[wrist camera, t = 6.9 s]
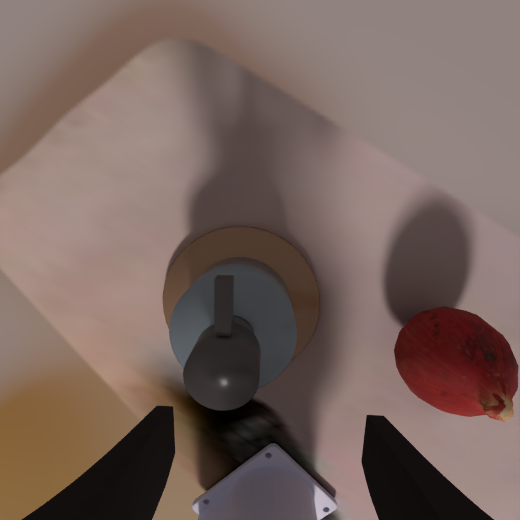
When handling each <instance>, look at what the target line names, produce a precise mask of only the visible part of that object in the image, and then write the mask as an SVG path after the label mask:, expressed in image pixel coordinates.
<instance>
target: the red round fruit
mask: <svg viewBox="0 0 520 520" xmlns="http://www.w3.org/2000/svg"><path fill="white" fill-rule="evenodd" d="M394 353H395V360H396V367H397V369H398V371H399V373H400V375H401V377H402V378H403V380H404V381H405V383H406V384H407V386H408V387H409V389H410V390H411V391H412V392H413V393H414V394H415V395H416V396H417V397H418V398H420V399H422V400H423V401H425V402H427V403H428V404H430V405H432V406H433V407H435V408H437V409H439V410H441V411H444V412H447V413H451V414H456V415H461V416H469V417H472V416H479V415H488V416H489V417H490V418H493V419H496V420H500V421H506V420H507V419H508V418H510V417H513V415H514V412H513V401H512V398H513V396H514V395H515V393H516V391H517V388H518V364H517V362H516V359H515V357H514V354H513V352H512V350H511V347H510V345H509V343H508V342H507V340H506V339H505V338H504V336H503V335H502V334H500V333H499V332H498V331H497V330H495V329H494V328H493V327H492V326H490V325H489V324H488V323H487V322H485V321H484V320H483V319H482V318H480V317H479V316H478V315H476V314H473V313H470V312H467V311H464V310H459V309H455V308H450V307H441V308H435V309H430V310H426V311H422V312H420V313H419V314H417V315H416V316H414V317H413V318H411V319H410V320H408V322H407V323H406V324H405V326H404V327H403V328H402V329H401V331H400V332H399V335H398V338H397V341H396V344H395V349H394Z"/></svg>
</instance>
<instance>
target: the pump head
mask: <svg viewBox="0 0 520 520" xmlns="http://www.w3.org/2000/svg"><path fill="white" fill-rule="evenodd" d="M233 307H234V276H233V275H217V276H216V278H215V279H214V324H213V325H211V326H209V327H208V328H206V329H205V330H204V331H203V332H202V333H201V335H200V336H199V338H198V340H197V342H196V344H195V346H194V348H193V349H192V351H191V353H190V355H189V357H188V359H187V361H186V363H185V366H184V371H183V378H184V383H185V386H186V388H187V390H188V392H189V393H190V395H191V396H192V397H193V398H194V399H195V400H196V401H197V402H198V403H200V404H202V405H203V406H205V407H208V408H210V409H214V410H232V409H236V408H239V407H241V406H243V405H244V404H246V403H247V402H248V401H250V400H251V398H252V397H253V396H254V394H255V393H256V391H257V389H258V385H259V377H260V360H261V349H260V344H259V342H258V340H257V338H256V336H255V335H254V334H253V333H252V331H250V330H249V329H248V328H246V327H245V326H243V325H241V324H238V323H235V322H233Z"/></svg>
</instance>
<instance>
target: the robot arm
mask: <svg viewBox="0 0 520 520" xmlns="http://www.w3.org/2000/svg"><path fill="white" fill-rule="evenodd" d="M267 453H270V454H267ZM174 455H175V439H174V417H173V407H172V406H156V407H155V408H154V409H153V410H152V411H151V412H150V413H149V414H148V415H147V416H146V417H145V418H144V419H143V420H142V421H141V422H140V423H139V424H138V425H136V426H135V427H134V428H133V429H132V430H131V431H130V432H129V433H128V434H127V435H126V436H125V437H124V438H123V439H122V440H121V441H120V442H119V443H117V444H116V445H115V446H114V447H113V448H112V449H111V450H110V451H109V452H108V453H107V454H106V455H104V456H103V457H102V458H101V459H100V460H99V461H98V462H96V463H95V464H94V465H93V466H92V467H91V468H89V469H88V470H87V471H86V472H85V473H84V474H82V475H81V476H80V477H79V478H78V479H76V480H75V481H74V482H73V483H71V484H70V485H69V486H68V487H66V488H65V489H64V490H62V491H61V492H60V493H58V494H57V495H56V496H54V497H53V498H52V499H50V500H49V501H48V502H46V503H45V504H44V505H43V506H41V507H39V508H38V509H37V510H35V511H34V512H32V513H31V514H29V515H28V516H26V517H25V518H24V519H22V520H152V518H153V516H154V513H155V511H156V508H157V506H158V503H159V501H160V498H161V496H162V493H163V491H164V488H165V485H166V482H167V479H168V476H169V472H170V469H171V466H172V462H173V458H174ZM362 466H363V470H364V474H365V478H366V482H367V485H368V489H369V493H370V496H371V499H372V502H373V505H374V507H375V510H376V513H377V516H378V518H379V520H494V519H492V518H491V517H490V516H489V515H487V514H486V513H485V512H484V511H483V510H481V509H480V508H479V507H478V506H477V505H475V504H474V503H473V502H472V501H471V500H470V499H469V498H467V497H466V496H465V495H464V494H463V493H462V492H461V491H460V490H459V489H457V488H456V487H455V486H454V485H453V484H452V483H451V482H450V481H449V480H447V479H446V478H445V477H444V476H443V475H442V474H441V473H440V472H439V471H438V470H437V469H436V468H435V467H434V466H433V465H432V464H431V463H430V462H429V461H428V460H427V459H426V458H425V457H424V456H423V455H422V454H421V453H420V452H419V451H418V450H417V449H416V448H415V447H414V446H413V445H412V444H411V443H410V442H409V441H408V440H407V439H406V438H405V437H404V436H403V435H402V434H401V433H400V432H399V431H398V430H397V429H396V428H395V427H394V426H393V425H392V424H391V423H390V422H389V421H388V420H387V419H386V418H385V417H384V416H377V415H367V418H366V427H365V435H364V444H363V453H362ZM336 508H337V503H336V500H335V499H334V498H333V497H332V496H331V495H330V494H329V493H328V492H327V491H326V490H325V489H324V488H323V487H322V486H321V485H319V484H318V483H317V482H316V481H315V480H314V479H313V478H312V477H311V476H310V475H309V474H308V473H307V472H306V471H305V470H304V469H303V468H302V467H300V466H299V465H298V464H297V463H296V462H295V461H294V460H293V459H292V458H291V457H290V456H289V455H288V454H287V453H286V452H285V451H284V450H283V449H281V448H280V447H279V446H278V445H277V444H275V443H271V444H269V445H268V446H266V447H265V448H264V449H262V450H261V451H260V452H258V453H257V454H256V455H254V456H253V457H252V458H250V459H249V460H248V461H246V462H245V463H244V464H242V465H241V466H240V467H238V468H237V469H236V470H234V471H233V472H232V473H230V474H229V475H228V476H226V477H225V478H224V479H222V480H221V481H220V482H218V483H217V484H216V485H214V486H213V487H212V488H210V489H209V490H208V491H206V492H205V493H204V494H202V495H201V496H200V497H198V498H197V499H196V500H194V502H193V505H192V509H193V510H194V511H195V512H196V513H197V514H199V518H198V520H320V519H322V518H323V517H325V516H326V515H328V514H329V513H331V512H332V511H334V510H335V509H336Z"/></svg>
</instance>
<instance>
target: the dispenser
mask: <svg viewBox="0 0 520 520" xmlns="http://www.w3.org/2000/svg"><path fill="white" fill-rule="evenodd" d="M217 275H233V276H234V307H233V322H235V323H238V324H241V325H243V326H245V327H246V328H248V329H249V330H250V331H252V333H253V334H254V335H255V336H256V338H257V340H258V342H259V344H260V349H261V360H260V377H259V385H258V388H260V387H262V386H264V385H266V384H268V383H270V382H271V381H273V380H274V379H276V378H277V377H278V376H279V375H280V374H281V373H282V372H283V371H284V369H285V368H286V367H287V365H288V364H289V362H290V361H291V360H293V359H294V358H295V357H296V356H297V355H298V354H300V352H301V351H302V350H303V349H304V348H305V347H306V345H307V344H308V342H309V341H310V339H311V337H312V335H313V333H314V331H315V329H316V325H317V322H318V318H319V312H320V297H319V289H318V286H317V282H316V279H315V277H314V274H313V272H312V270H311V268H310V267H309V265H308V263H307V262H306V260H305V259H304V257H303V256H302V255H301V254H300V252H299V251H297V250H296V249H295V248H294V247H293V246H292V245H291V244H290V243H288V242H287V241H286V240H284V239H283V238H281V237H279V236H277V235H275V234H273V233H271V232H268V231H265V230H262V229H258V228H253V227H244V226H242V227H228V228H222V229H219V230H216V231H212V232H210V233H208V234H206V235H204V236H202V237H200V238H198V239H197V240H195V241H194V242H192V243H191V244H190V245H189V246H187V247H186V248H185V249H184V250H183V251H182V252H181V253H180V254H179V256H178V257H177V258H176V260H175V261H174V263H173V264H172V266H171V268H170V270H169V272H168V275H167V278H166V281H165V285H164V290H163V309H164V315H165V319H166V323H167V325H168V328H169V335H170V342H171V346H172V349H173V352H174V354H175V356H176V358H177V360H178V362H179V363H180V364H181V366H182V367H183V368H184V366H185V363H186V361H187V359H188V357H189V355H190V353H191V351H192V349H193V348H194V346H195V344H196V342H197V340H198V338H199V336H200V335H201V333H202V332H203V331H204V330H205V329H206V328H208V327H209V326H211V325H213V324H214V279H215V278H216V276H217Z"/></svg>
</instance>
